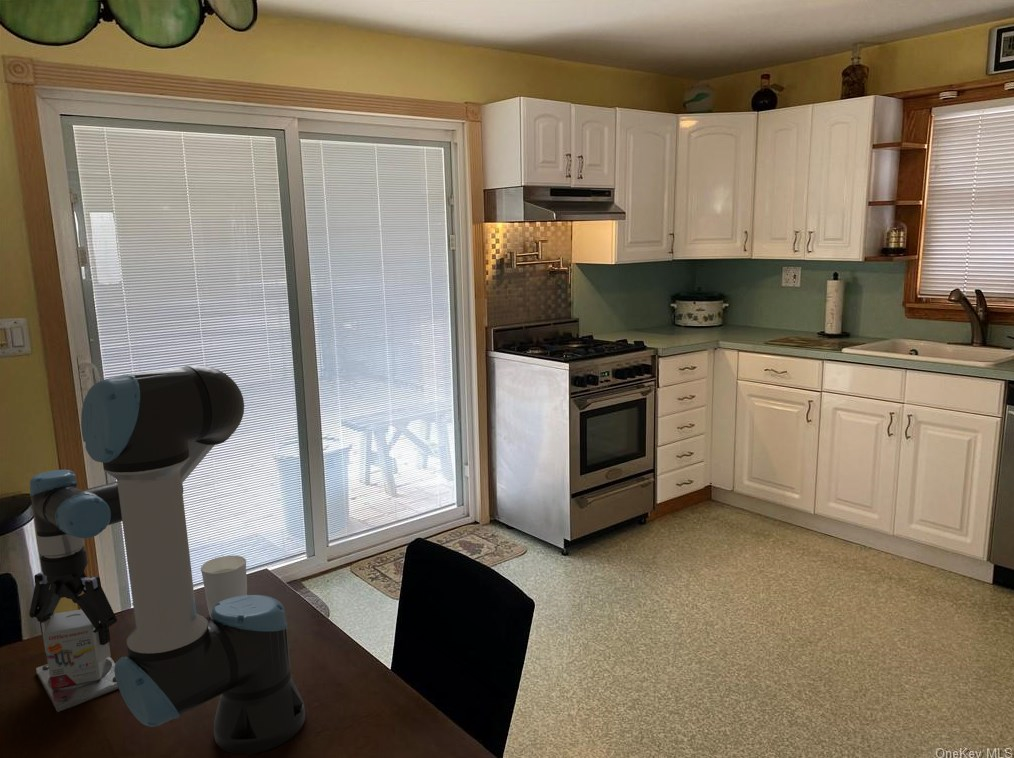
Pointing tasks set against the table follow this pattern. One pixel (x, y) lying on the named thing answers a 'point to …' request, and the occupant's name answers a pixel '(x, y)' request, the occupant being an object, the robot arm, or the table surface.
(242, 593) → the candle holder
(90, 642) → the ink box
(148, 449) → the robot arm
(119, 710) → the table surface
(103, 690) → the flange
